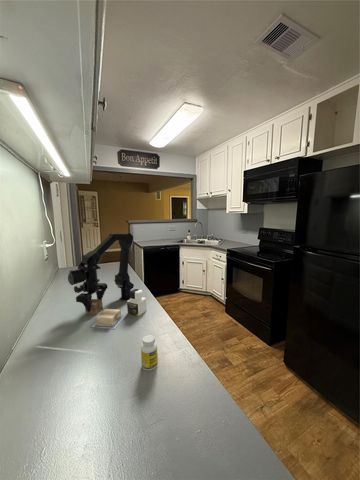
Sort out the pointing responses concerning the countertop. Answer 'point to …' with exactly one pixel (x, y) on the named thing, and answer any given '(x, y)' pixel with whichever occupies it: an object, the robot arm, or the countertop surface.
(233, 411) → the countertop surface
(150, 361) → the supplement bottle
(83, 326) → the countertop surface
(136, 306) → the medicine bottle
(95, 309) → the walnut cube
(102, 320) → the maple slab
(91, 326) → the blueprint board
